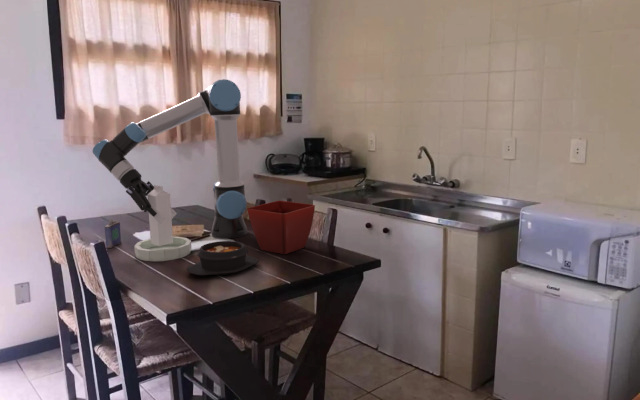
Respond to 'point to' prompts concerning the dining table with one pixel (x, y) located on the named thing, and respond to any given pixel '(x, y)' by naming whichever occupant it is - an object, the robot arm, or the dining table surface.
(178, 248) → the bowl
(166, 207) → the milk
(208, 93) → the robot arm
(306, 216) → the plant pot
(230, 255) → the casserole
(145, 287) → the dining table surface
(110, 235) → the flask
